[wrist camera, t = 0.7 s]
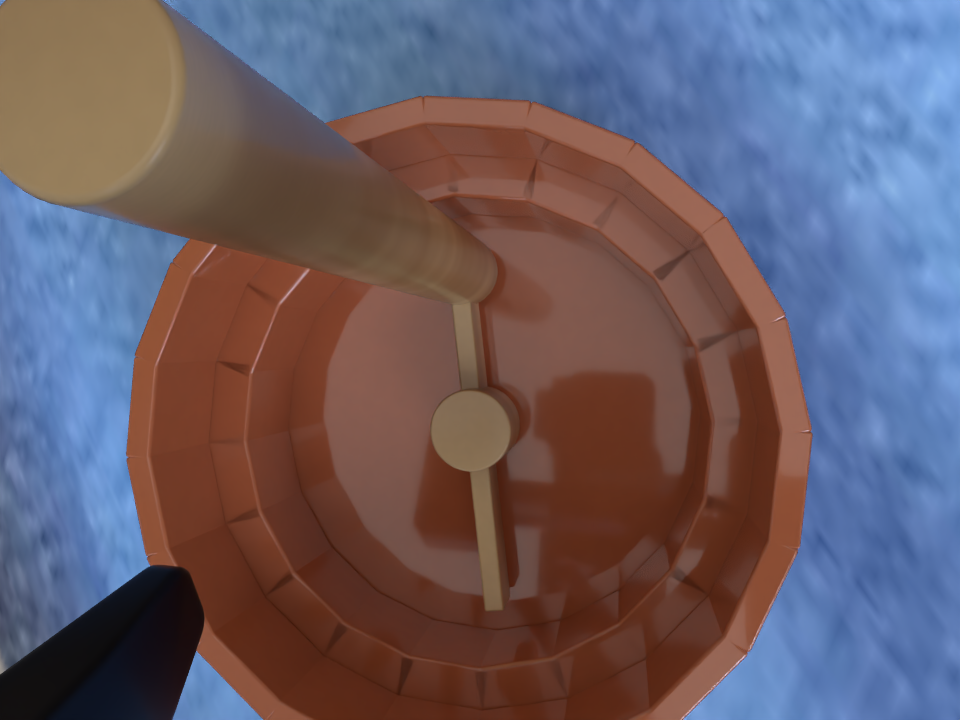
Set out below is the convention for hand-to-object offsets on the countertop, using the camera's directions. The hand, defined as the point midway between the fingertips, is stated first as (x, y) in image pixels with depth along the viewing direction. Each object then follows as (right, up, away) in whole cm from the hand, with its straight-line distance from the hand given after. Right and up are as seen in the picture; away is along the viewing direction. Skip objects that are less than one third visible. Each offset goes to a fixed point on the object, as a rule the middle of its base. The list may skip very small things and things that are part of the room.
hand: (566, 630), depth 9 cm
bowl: (-1, +1, +13) cm, 13 cm away
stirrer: (-1, +1, +12) cm, 12 cm away
